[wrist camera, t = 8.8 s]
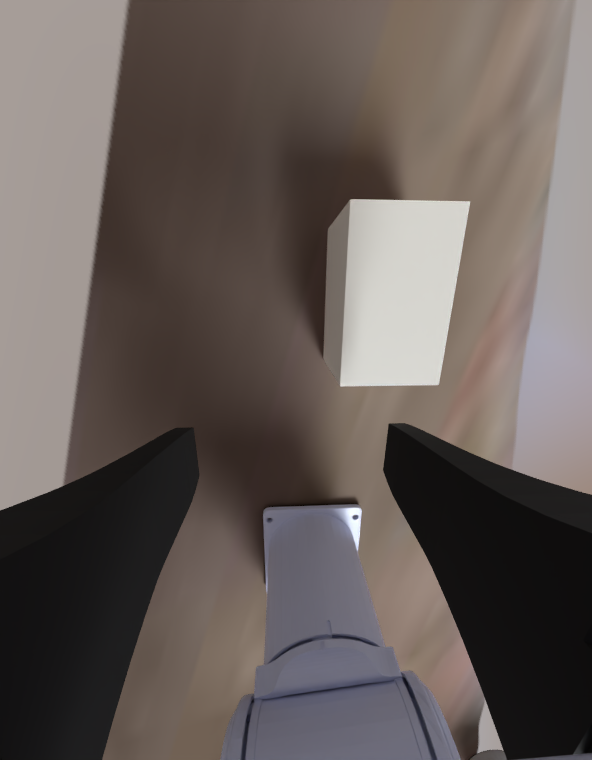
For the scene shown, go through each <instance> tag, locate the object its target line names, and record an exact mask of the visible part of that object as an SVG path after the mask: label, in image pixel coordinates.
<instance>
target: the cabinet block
mask: <svg viewBox="0 0 592 760" xmlns="http://www.w3.org/2000/svg"><path fill="white" fill-rule="evenodd" d="M469 205H470V202H466V201H417V200H369V199H350V200H349V202H348V203H347V204H346V206H345V207H344V208H343V210H342V211H341V212H340V214H339V215H338V216H337V218H336V219H335V220H334V222H333V223H332V224H331V226H330V227H329V228H328V238H327V267H326V296H325V324H324V353H323V360H324V361H325V363H326V364H327V366H328V368H329V369H330V371H331V373H332V374H333V376H334V377H335V379H336V381H337V382H338V384H339V385H340V386H399V385H439V380H440V374H441V369H442V363H443V357H444V351H445V345H446V339H447V334H448V328H449V322H450V316H451V310H452V305H453V299H454V293H455V287H456V281H457V275H458V270H459V264H460V258H461V252H462V246H463V240H464V235H465V229H466V223H467V217H468V211H469Z"/></svg>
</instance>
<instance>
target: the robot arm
mask: <svg viewBox="0 0 592 760" xmlns="http://www.w3.org/2000/svg"><path fill="white" fill-rule="evenodd" d="M383 471H384V474H385V477H386V479H387V482H388V485H389V487H390V490H391V492H392V495H393V496H394V498H395V500H396V502H397V504H398V506H399V508H400V509H401V511H402V513H403V515H404V517H405V518H406V520H407V522H408V524H409V526H410V527H411V529H412V531H413V533H414V535H415V536H416V538H417V540H418V542H419V544H420V545H421V547H422V549H423V551H424V553H425V555H426V557H427V559H428V561H429V563H430V565H431V566H432V569H433V571H434V573H435V575H436V578H437V580H438V582H439V585H440V587H441V589H442V591H443V594H444V596H445V598H446V601H447V603H448V605H449V608H450V610H451V613H452V615H453V618H454V620H455V622H456V625H457V627H458V630H459V632H460V635H461V637H462V639H463V642H464V645H465V647H466V650H467V652H468V655H469V658H470V660H471V663H472V665H473V668H474V671H475V673H476V676H477V678H478V681H479V684H480V686H481V689H482V691H483V694H484V697H485V700H486V702H487V705H488V708H489V711H490V714H491V716H492V719H493V722H494V724H495V727H496V730H497V733H498V736H499V739H500V741H501V744H502V747H503V750H504V753H505V755H506V758H507V760H592V495H590V494H586V493H582V492H578V491H575V490H572V489H568V488H565V487H562V486H559V485H555V484H552V483H548V482H545V481H542V480H539V479H536V478H533V477H530V476H527V475H525V474H522V473H519V472H516V471H514V470H511V469H508V468H505V467H503V466H500V465H498V464H495V463H493V462H490V461H488V460H485V459H483V458H481V457H478V456H476V455H474V454H471V453H469V452H467V451H465V450H463V449H460V448H458V447H456V446H454V445H452V444H450V443H448V442H446V441H443V440H441V439H439V438H437V437H435V436H433V435H431V434H429V433H427V432H425V431H423V430H420V429H418V428H416V427H414V426H411V425H408V424H405V423H397V424H389V426H388V434H387V443H386V451H385V460H384V468H383ZM198 479H199V468H198V460H197V452H196V444H195V436H194V428H175V429H173V430H170V431H168V432H167V433H165V434H163V435H161V436H159V437H157V438H156V439H154V440H152V441H150V442H149V443H147V444H145V445H143V446H142V447H140V448H138V449H136V450H135V451H133V452H131V453H129V454H128V455H126V456H124V457H122V458H120V459H118V460H116V461H114V462H112V463H110V464H109V465H107V466H105V467H103V468H101V469H99V470H97V471H95V472H93V473H91V474H89V475H87V476H85V477H83V478H80V479H78V480H76V481H74V482H71V483H69V484H67V485H65V486H62V487H60V488H58V489H55V490H53V491H51V492H48V493H46V494H43V495H40V496H38V497H35V498H33V499H30V500H27V501H24V502H22V503H19V504H17V505H14V506H12V507H9V508H6V509H4V510H1V511H0V760H102V757H103V754H104V750H105V747H106V743H107V740H108V736H109V732H110V729H111V725H112V722H113V718H114V715H115V711H116V708H117V705H118V701H119V698H120V695H121V691H122V688H123V685H124V681H125V678H126V675H127V671H128V668H129V665H130V661H131V658H132V655H133V652H134V649H135V646H136V643H137V639H138V636H139V633H140V630H141V627H142V624H143V621H144V618H145V615H146V612H147V609H148V606H149V603H150V600H151V597H152V594H153V591H154V588H155V586H156V583H157V580H158V577H159V575H160V572H161V570H162V567H163V565H164V563H165V560H166V558H167V556H168V554H169V551H170V549H171V547H172V545H173V543H174V540H175V538H176V536H177V534H178V532H179V529H180V527H181V525H182V523H183V520H184V518H185V516H186V514H187V511H188V509H189V507H190V504H191V502H192V499H193V496H194V493H195V490H196V486H197V482H198ZM361 514H362V510H361V507H360V506H359V505H357V504H347V505H319V506H290V507H268V508H266V509H265V510H264V512H263V524H264V549H265V574H266V592H267V608H266V629H265V651H264V665H261V666H257V667H256V676H255V691H254V694H248V695H244V696H243V697H242V698H241V700H240V702H239V704H238V706H237V709H236V710H235V712H234V714H233V715H232V717H231V719H230V721H229V724H228V727H227V730H226V734H225V738H224V743H223V748H222V753H221V759H220V760H461V759H460V756H459V753H458V750H457V748H456V745H455V742H454V740H453V737H452V735H451V732H450V730H449V727H448V725H447V722H446V720H445V718H444V716H443V713H442V711H441V709H440V707H439V705H438V703H437V701H436V699H435V697H434V695H433V694H432V692H431V691H430V689H429V688H428V687H427V686H426V685H425V684H424V683H423V682H422V681H421V680H420V679H419V678H418V676H417V675H416V674H415V673H414V672H413V671H410V670H409V671H402V672H400V669H399V665H398V662H397V659H396V656H395V653H394V649H393V647H385V643H384V640H383V636H382V633H381V629H380V626H379V623H378V619H377V616H376V612H375V609H374V606H373V602H372V599H371V595H370V592H369V589H368V585H367V582H366V578H365V575H364V572H363V568H362V565H361V561H360V558H359V555H358V545H359V535H360V525H361ZM353 515H356V516H353ZM267 518H272V519H267Z"/></svg>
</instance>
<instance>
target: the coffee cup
mask: <svg viewBox="0 0 592 760" xmlns="http://www.w3.org/2000/svg"><path fill="white" fill-rule="evenodd" d="M470 760H507V758H506V755H505V753H504V751H502V750H487V751H483V752H480V753H478V754H476V755H474V756H473V757H472V758H471V759H470Z"/></svg>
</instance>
